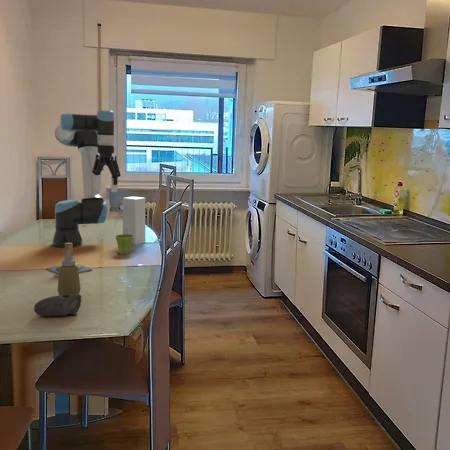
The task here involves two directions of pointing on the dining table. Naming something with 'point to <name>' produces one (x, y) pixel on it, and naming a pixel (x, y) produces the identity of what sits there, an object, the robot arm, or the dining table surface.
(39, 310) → the perforated stone tool
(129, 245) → the plant pot
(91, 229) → the dining table surface
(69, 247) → the beige disc-based post
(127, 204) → the tall white carton
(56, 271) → the mat
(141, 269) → the dining table surface
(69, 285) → the squeeze bottle
